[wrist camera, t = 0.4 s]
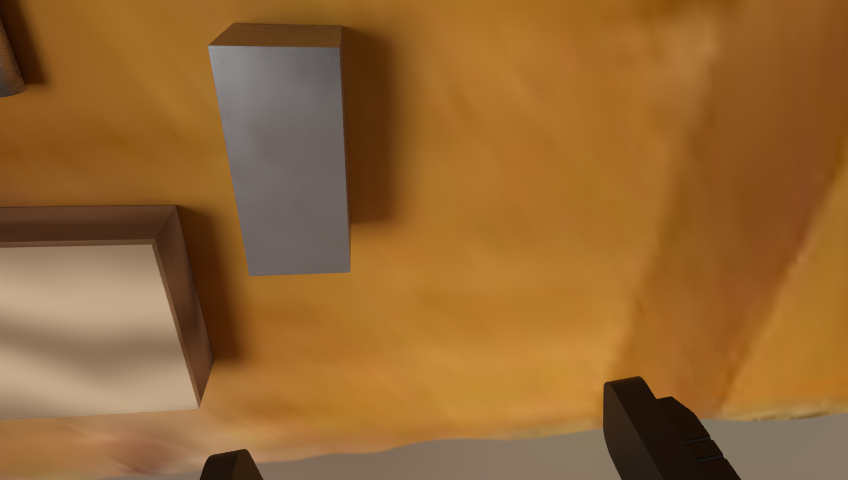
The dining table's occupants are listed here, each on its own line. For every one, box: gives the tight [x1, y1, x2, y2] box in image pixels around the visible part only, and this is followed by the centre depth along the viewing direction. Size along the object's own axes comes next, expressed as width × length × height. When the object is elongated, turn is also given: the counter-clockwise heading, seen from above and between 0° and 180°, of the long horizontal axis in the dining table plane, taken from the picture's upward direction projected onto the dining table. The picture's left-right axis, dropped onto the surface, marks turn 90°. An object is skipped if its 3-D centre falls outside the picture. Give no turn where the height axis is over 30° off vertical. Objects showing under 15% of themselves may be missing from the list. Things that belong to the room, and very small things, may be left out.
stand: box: [0, 205, 214, 421], centre depth 29 cm, size 12×12×4 cm
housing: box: [208, 23, 351, 276], centre depth 25 cm, size 11×5×5 cm, turn 178°
